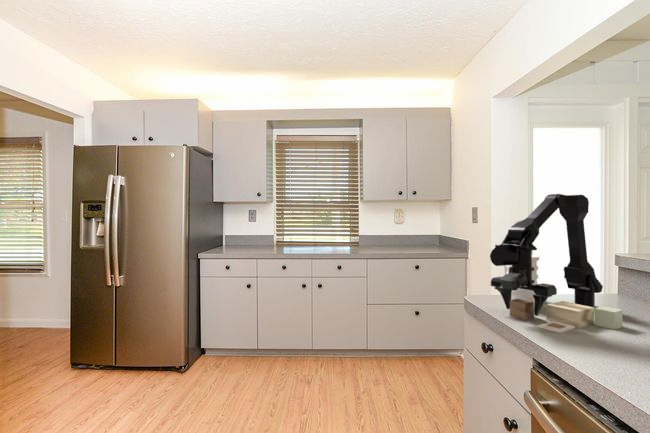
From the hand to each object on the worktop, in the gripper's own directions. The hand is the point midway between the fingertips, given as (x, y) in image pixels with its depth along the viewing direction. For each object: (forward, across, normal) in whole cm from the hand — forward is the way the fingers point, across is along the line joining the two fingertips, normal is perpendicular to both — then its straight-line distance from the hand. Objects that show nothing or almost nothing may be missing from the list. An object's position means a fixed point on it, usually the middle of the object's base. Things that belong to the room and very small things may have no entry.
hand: (521, 312), depth 115 cm
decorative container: (+2, -8, +14) cm, 16 cm away
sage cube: (+1, +19, +12) cm, 23 cm away
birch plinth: (+2, +11, +7) cm, 13 cm away
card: (+1, +12, -3) cm, 12 cm away
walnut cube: (+1, 0, 0) cm, 1 cm away
